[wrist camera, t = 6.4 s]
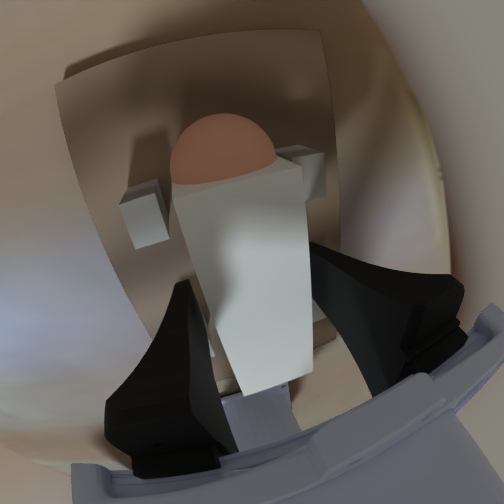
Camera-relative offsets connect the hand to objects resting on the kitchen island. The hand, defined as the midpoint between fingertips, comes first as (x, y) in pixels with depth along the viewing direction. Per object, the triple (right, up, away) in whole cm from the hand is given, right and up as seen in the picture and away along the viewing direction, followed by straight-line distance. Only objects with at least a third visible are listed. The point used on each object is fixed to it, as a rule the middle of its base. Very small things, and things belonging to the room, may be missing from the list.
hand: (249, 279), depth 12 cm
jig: (-1, +2, +3) cm, 4 cm away
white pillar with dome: (-1, +1, +3) cm, 3 cm away
